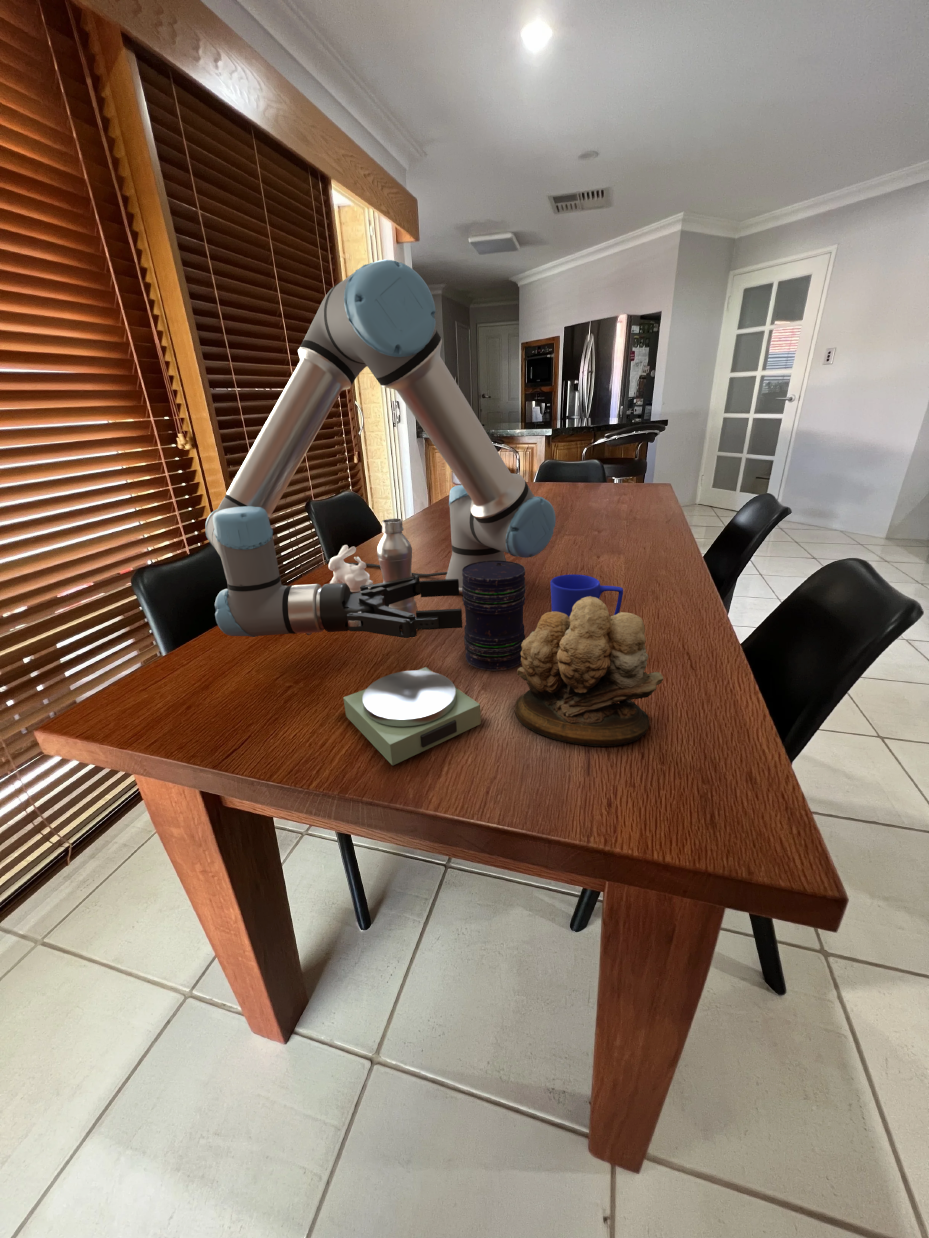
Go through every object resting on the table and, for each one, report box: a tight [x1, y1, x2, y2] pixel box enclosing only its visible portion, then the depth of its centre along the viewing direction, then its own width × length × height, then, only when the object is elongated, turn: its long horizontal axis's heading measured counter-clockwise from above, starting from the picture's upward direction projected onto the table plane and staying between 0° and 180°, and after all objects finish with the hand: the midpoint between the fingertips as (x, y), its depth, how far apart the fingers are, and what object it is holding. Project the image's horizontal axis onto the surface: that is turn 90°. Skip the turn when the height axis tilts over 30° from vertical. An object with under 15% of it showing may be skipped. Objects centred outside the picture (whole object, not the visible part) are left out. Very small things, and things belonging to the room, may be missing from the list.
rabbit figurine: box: [328, 544, 374, 593], centre depth 115 cm, size 12×8×10 cm, turn 73°
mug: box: [550, 574, 624, 619], centre depth 86 cm, size 8×12×10 cm
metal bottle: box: [376, 518, 419, 617], centre depth 91 cm, size 6×7×20 cm
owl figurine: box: [514, 596, 664, 747], centre depth 61 cm, size 18×12×17 cm, turn 72°
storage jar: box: [462, 560, 526, 672], centre depth 79 cm, size 10×10×15 cm
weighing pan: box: [362, 669, 457, 727], centre depth 64 cm, size 12×12×1 cm
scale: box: [342, 666, 482, 766], centre depth 65 cm, size 13×13×3 cm
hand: (460, 601), depth 77 cm, fingers open, 13 cm apart
